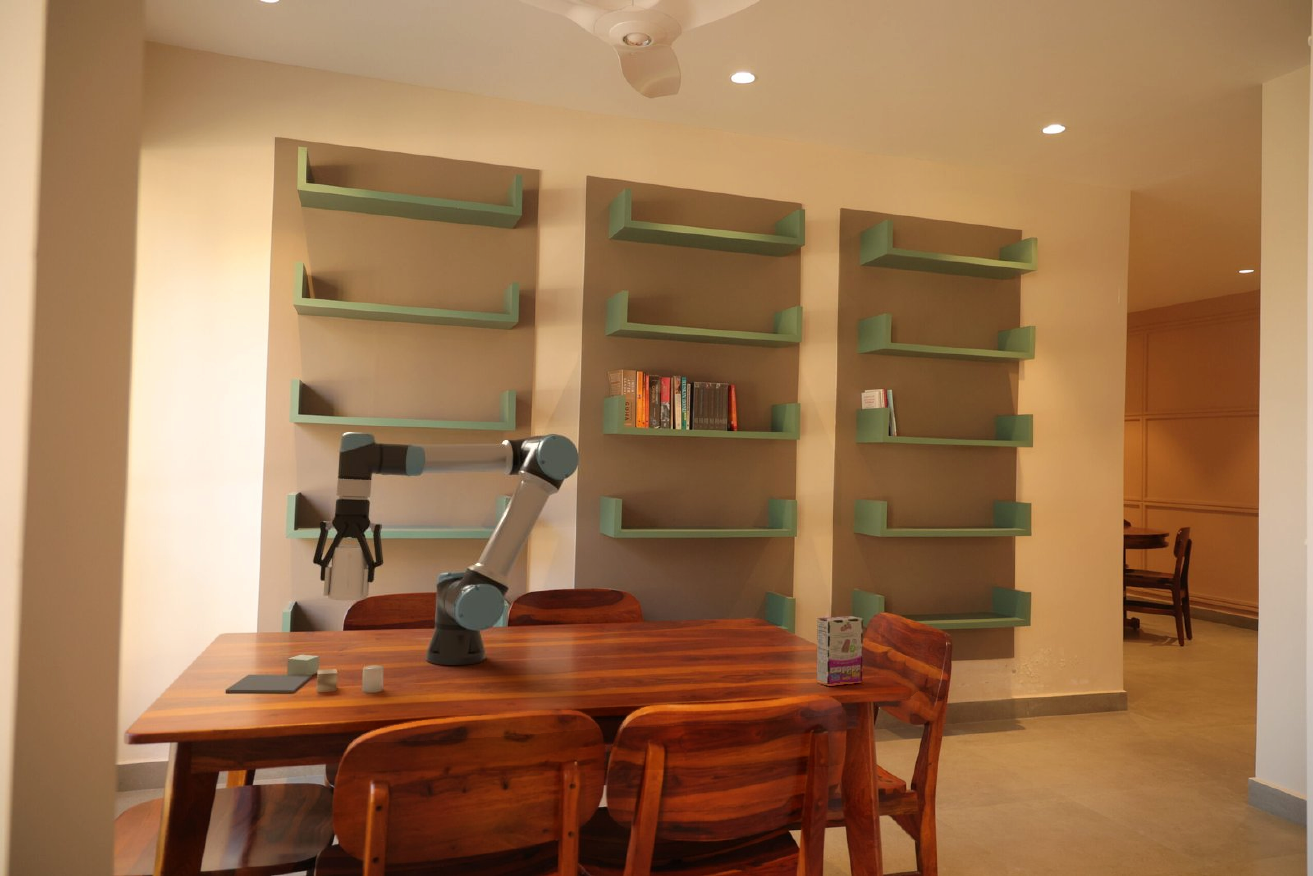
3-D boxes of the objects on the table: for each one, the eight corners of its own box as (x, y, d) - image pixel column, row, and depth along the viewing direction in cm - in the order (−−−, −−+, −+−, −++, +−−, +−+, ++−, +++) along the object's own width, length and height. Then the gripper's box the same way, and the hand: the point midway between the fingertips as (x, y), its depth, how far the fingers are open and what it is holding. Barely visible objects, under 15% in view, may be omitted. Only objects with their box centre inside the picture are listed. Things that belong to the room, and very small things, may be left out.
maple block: (335, 687, 188) (336, 669, 188) (336, 691, 184) (337, 673, 185) (316, 688, 187) (317, 670, 187) (316, 692, 183) (317, 674, 183)
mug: (360, 603, 189) (364, 550, 190) (321, 602, 188) (325, 548, 188) (369, 596, 201) (372, 546, 201) (332, 595, 199) (336, 544, 200)
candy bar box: (849, 679, 215) (851, 615, 215) (862, 684, 210) (864, 618, 211) (814, 682, 209) (816, 617, 210) (827, 687, 205) (829, 620, 206)
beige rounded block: (384, 687, 189) (385, 665, 189) (380, 692, 184) (381, 669, 185) (364, 687, 188) (365, 665, 188) (359, 692, 184) (361, 669, 184)
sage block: (318, 673, 201) (319, 656, 201) (305, 677, 196) (306, 660, 196) (299, 671, 202) (300, 654, 202) (286, 675, 197) (287, 658, 197)
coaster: (311, 677, 195) (311, 675, 195) (293, 693, 181) (293, 690, 181) (248, 677, 193) (248, 674, 193) (225, 692, 179) (225, 689, 179)
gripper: (401, 500, 201) (394, 595, 199) (311, 495, 198) (304, 592, 197) (396, 500, 193) (389, 599, 192) (302, 496, 191) (294, 596, 189)
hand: (346, 595), depth 194 cm, fingers closed on mug, 8 cm apart
